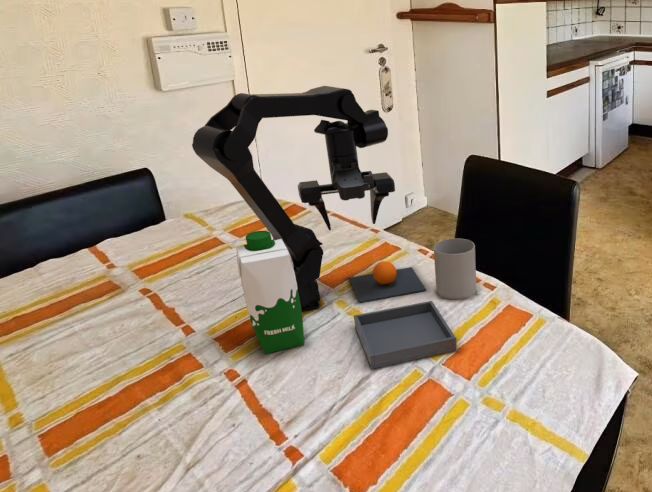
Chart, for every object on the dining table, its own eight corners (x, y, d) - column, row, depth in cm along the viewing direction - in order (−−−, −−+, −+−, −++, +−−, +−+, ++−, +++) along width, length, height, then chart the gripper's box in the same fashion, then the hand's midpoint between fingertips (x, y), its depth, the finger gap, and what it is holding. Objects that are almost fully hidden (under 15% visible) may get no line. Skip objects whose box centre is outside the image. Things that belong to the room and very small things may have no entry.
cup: (470, 300, 127) (468, 256, 123) (431, 297, 129) (428, 252, 124) (480, 282, 135) (478, 239, 130) (443, 279, 136) (440, 237, 131)
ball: (377, 290, 131) (373, 269, 128) (373, 281, 135) (368, 260, 133) (401, 284, 132) (396, 263, 130) (395, 276, 136) (391, 255, 134)
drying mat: (359, 303, 127) (359, 301, 126) (349, 279, 136) (349, 277, 136) (426, 290, 131) (426, 289, 131) (411, 268, 141) (411, 267, 141)
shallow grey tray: (371, 369, 106) (370, 356, 104) (355, 327, 118) (353, 315, 117) (456, 350, 111) (456, 337, 110) (432, 312, 123) (431, 300, 122)
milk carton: (300, 324, 119) (282, 226, 110) (310, 346, 112) (292, 243, 103) (252, 335, 116) (228, 234, 106) (259, 359, 108) (235, 253, 99)
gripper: (298, 168, 114) (311, 247, 122) (398, 158, 121) (404, 233, 128) (291, 154, 123) (304, 228, 131) (385, 144, 130) (392, 215, 137)
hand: (352, 226), depth 131 cm, fingers open, 9 cm apart
